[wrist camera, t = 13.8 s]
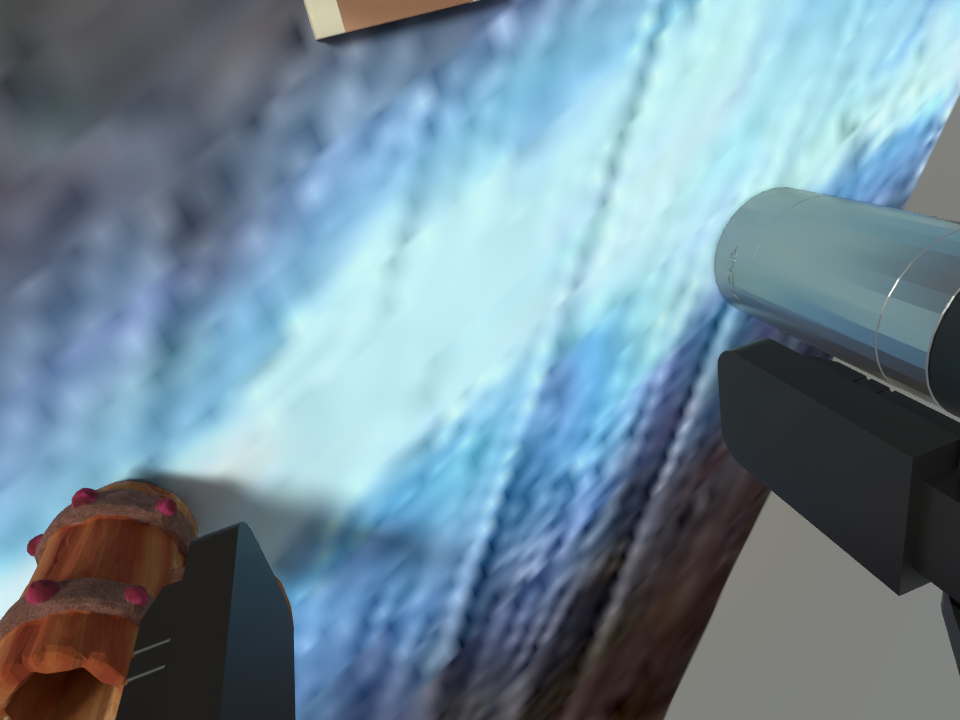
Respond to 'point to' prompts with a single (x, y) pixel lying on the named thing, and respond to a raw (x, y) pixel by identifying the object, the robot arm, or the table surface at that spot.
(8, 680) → the mug
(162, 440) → the table surface
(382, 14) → the beige flat rectangular frame
